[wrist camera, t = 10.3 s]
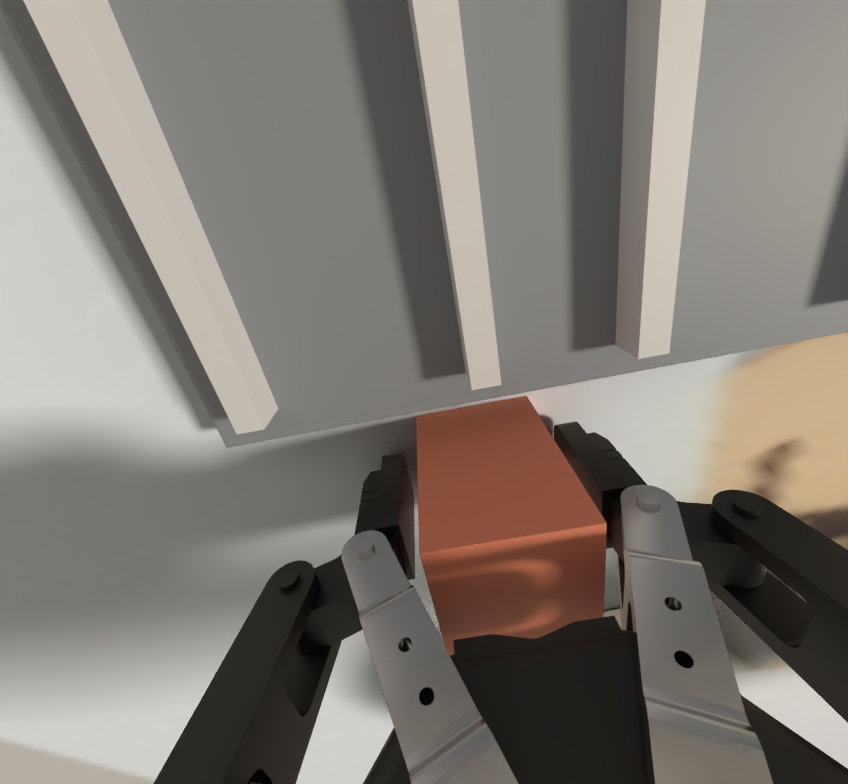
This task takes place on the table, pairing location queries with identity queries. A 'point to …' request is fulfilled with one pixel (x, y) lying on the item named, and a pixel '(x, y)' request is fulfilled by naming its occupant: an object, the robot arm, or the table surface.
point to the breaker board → (456, 188)
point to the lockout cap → (505, 525)
